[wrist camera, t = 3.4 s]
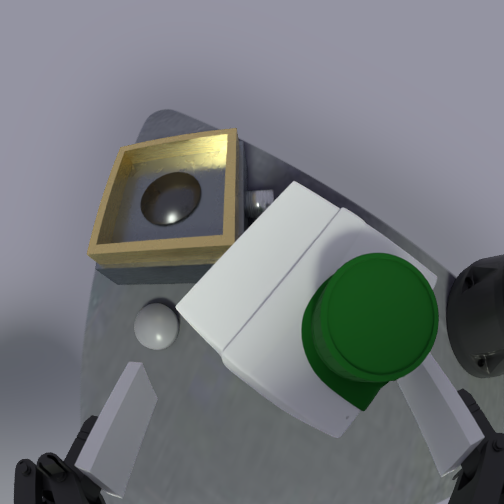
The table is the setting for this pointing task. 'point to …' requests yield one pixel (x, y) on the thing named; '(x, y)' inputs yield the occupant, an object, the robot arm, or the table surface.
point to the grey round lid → (156, 326)
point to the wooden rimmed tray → (174, 208)
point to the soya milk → (315, 310)
